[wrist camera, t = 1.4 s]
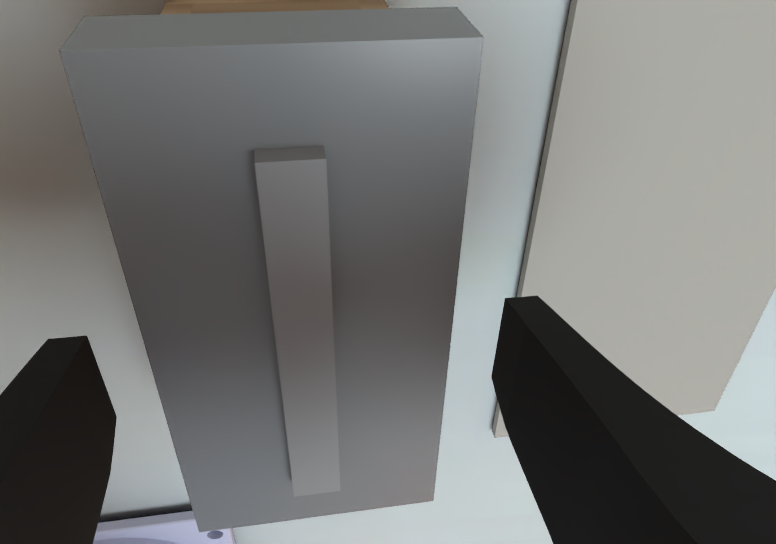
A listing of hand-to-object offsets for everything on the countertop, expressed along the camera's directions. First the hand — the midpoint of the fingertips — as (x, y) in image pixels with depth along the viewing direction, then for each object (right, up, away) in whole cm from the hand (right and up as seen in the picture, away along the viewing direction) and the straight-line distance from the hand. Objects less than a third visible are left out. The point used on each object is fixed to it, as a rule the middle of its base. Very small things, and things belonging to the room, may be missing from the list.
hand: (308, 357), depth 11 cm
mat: (+9, +2, +6) cm, 11 cm away
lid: (0, +1, +1) cm, 2 cm away
